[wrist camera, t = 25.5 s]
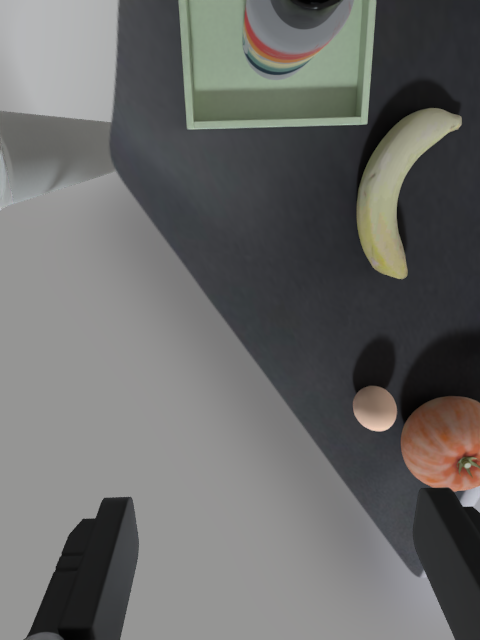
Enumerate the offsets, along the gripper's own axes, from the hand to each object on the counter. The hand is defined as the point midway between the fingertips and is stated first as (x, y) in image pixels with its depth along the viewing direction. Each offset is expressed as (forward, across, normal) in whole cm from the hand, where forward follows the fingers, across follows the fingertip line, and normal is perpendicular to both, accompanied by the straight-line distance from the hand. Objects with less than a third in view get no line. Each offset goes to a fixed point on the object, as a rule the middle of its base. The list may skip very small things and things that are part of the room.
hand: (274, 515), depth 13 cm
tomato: (+34, -22, +22) cm, 46 cm away
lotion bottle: (+34, -3, -17) cm, 38 cm away
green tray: (+34, -3, -17) cm, 38 cm away
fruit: (+34, -15, -4) cm, 38 cm away
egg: (+34, -14, +18) cm, 41 cm away
